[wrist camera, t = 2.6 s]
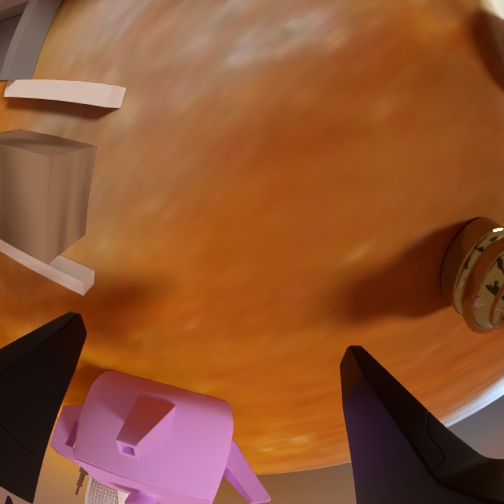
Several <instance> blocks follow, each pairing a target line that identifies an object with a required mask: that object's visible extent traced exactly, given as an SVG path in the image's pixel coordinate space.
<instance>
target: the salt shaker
mask: <svg viewBox="0 0 504 504" xmlns="http://www.w3.org/2000/svg"><path fill="white" fill-rule="evenodd" d="M441 287H442V291H443V294H444V296H445V297H446V298H447V299H448V301H449V302H450V303H451V304H452V305H453V307H454V309H455V311H456V312H457V313H458V314H460V315H462V316H463V318H464V320H465V322H466V324H467V326H468V327H469V329H470V330H472V331H473V332H475V333H479V334H484V333H489V332H492V331H494V330H500V329H503V328H504V226H502V225H500V224H498V223H497V222H495V221H494V220H492V219H489V218H480V219H477V220H475V221H473V222H471V223H470V224H468V225H467V226H466V227H465V228H464V229H463V230H462V231H461V232H460V233H459V234H458V235H457V237H456V238H455V240H454V241H453V243H452V244H451V246H450V248H449V250H448V252H447V254H446V257H445V260H444V263H443V267H442V272H441Z"/></svg>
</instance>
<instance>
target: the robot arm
mask: <svg viewBox="0 0 504 504" xmlns="http://www.w3.org/2000/svg"><path fill="white" fill-rule="evenodd" d="M86 335H87V332H86V328H85V325H84V322H83V319H82V317H81V315H80V314H79V313H76V312H71V311H70V312H68V313H66V314H64V315H62V316H60V317H58V318H56V319H54V320H53V321H51V322H49V323H47V324H45V325H43V326H41V327H39V328H38V329H36V330H34V331H32V332H30V333H28V334H26V335H25V336H23V337H21V338H19V339H17V340H16V341H14V342H12V343H10V344H8V345H7V346H5V347H3V348H1V349H0V504H13V503H12V500H11V498H10V497H9V496H8V492H10V493H13V494H14V495H16V496H18V497H20V498H22V499H23V500H25V501H27V502H29V503H31V504H32V503H33V501H34V497H35V492H36V487H37V483H38V478H39V474H40V470H41V466H42V463H43V462H42V461H43V459H44V455H45V452H46V448H47V445H48V442H49V439H50V435H51V432H52V429H53V426H54V423H55V421H56V418H57V415H58V412H59V410H60V407H61V404H62V402H63V399H64V397H65V394H66V392H67V389H68V387H69V384H70V382H71V379H72V377H73V374H74V372H75V369H76V366H77V363H78V360H79V357H80V354H81V351H82V348H83V345H84V342H85V339H86ZM340 375H341V388H342V403H343V412H344V418H345V423H346V429H347V435H348V442H349V448H350V455H351V461H352V468H353V475H354V483H355V492H356V501H357V504H504V459H492V458H487V457H485V456H483V455H481V454H479V453H478V452H476V451H475V450H474V449H472V448H471V447H469V445H467V444H466V443H465V442H463V441H462V440H461V439H460V438H458V437H457V436H456V435H455V434H453V433H452V432H451V431H450V430H448V429H447V428H446V427H445V426H444V425H443V424H442V423H441V422H440V421H439V420H437V419H436V418H435V417H434V416H433V415H432V414H431V413H430V412H428V410H427V409H426V408H425V407H424V406H423V405H422V404H421V403H420V402H419V401H418V400H417V399H416V398H415V397H414V396H413V395H412V394H411V393H410V392H409V391H407V390H406V389H405V388H404V387H403V386H402V385H401V384H400V383H399V382H398V381H397V380H396V379H395V378H394V377H393V376H392V375H391V374H390V373H389V372H388V371H387V370H386V369H385V368H384V367H383V366H382V365H381V364H379V363H378V362H377V361H376V360H375V359H374V358H373V357H372V356H371V355H370V354H369V353H368V352H367V351H366V350H365V349H364V348H363V347H362V346H349V347H348V348H347V350H346V352H345V354H344V357H343V359H342V361H341V364H340Z"/></svg>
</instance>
